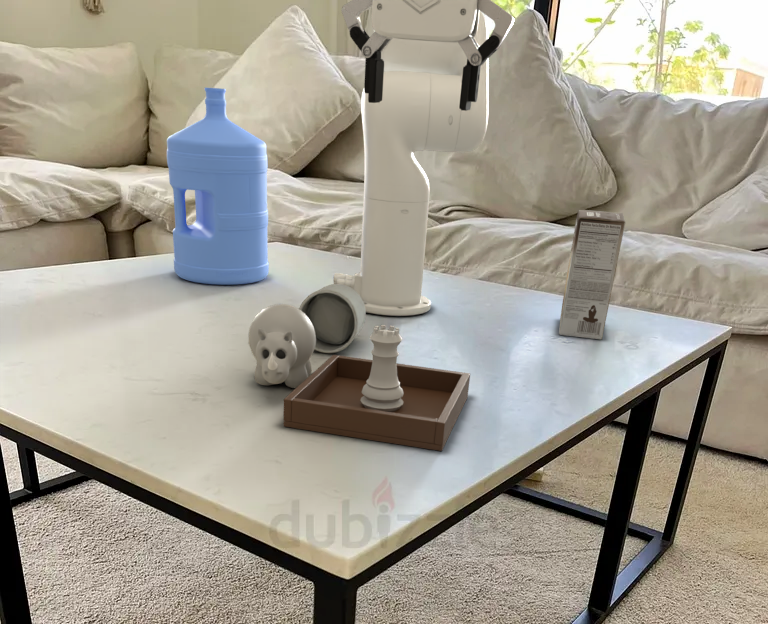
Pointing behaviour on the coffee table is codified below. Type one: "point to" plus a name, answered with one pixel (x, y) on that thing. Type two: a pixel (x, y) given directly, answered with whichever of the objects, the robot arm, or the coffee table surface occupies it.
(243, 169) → the water jug
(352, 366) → the tray
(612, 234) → the coffee box
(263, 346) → the round bodied animal figurine
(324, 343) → the ceramic mug
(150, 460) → the coffee table surface
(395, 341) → the rook chess piece
